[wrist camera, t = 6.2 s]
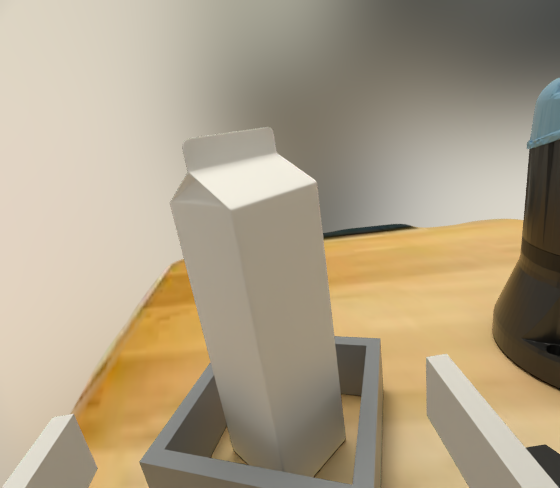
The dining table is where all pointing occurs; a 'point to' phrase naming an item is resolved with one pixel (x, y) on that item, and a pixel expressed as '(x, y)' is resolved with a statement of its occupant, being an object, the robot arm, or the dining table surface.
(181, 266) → the dining table surface
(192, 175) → the milk
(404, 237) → the dining table surface
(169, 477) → the housing
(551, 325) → the robot arm
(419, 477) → the dining table surface
